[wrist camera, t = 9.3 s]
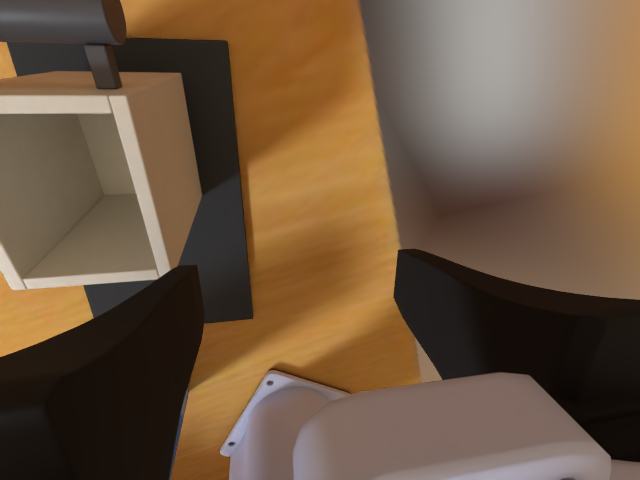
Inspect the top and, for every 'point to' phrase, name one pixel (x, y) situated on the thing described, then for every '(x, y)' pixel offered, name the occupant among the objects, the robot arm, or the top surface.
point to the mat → (211, 157)
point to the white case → (90, 157)
